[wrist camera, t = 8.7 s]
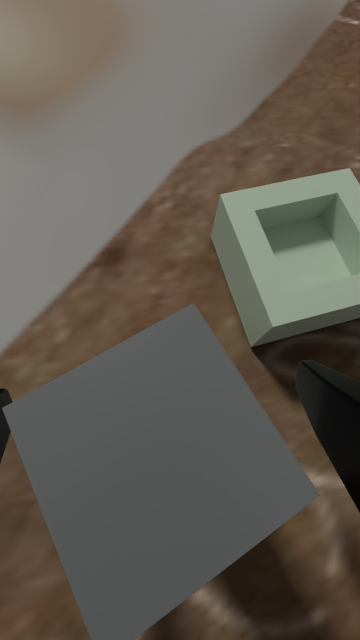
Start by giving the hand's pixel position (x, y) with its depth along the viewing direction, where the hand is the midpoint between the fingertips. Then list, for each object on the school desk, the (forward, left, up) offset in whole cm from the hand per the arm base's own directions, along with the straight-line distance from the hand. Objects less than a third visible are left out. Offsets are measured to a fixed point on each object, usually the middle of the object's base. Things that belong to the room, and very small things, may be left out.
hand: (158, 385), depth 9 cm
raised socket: (+6, -10, -8) cm, 14 cm away
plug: (-1, 0, -8) cm, 8 cm away
